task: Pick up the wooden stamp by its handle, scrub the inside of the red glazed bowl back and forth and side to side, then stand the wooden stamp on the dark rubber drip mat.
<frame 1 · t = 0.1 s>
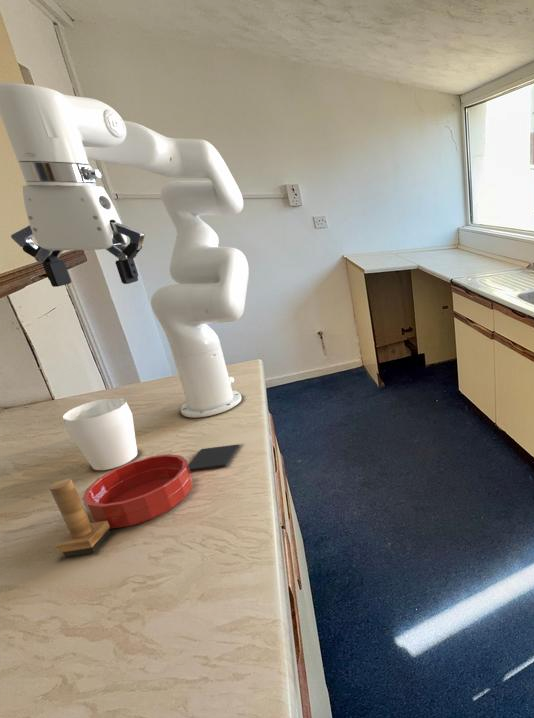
hand: (97, 283, 68), 37 cm above the counter, tool pointing down, fingers open, 9 cm apart
cup: (116, 461, 81), on the counter
drip mat: (213, 458, 81), on the counter
wooden stamp: (88, 545, 61), on the counter
bowl: (146, 501, 70), on the counter
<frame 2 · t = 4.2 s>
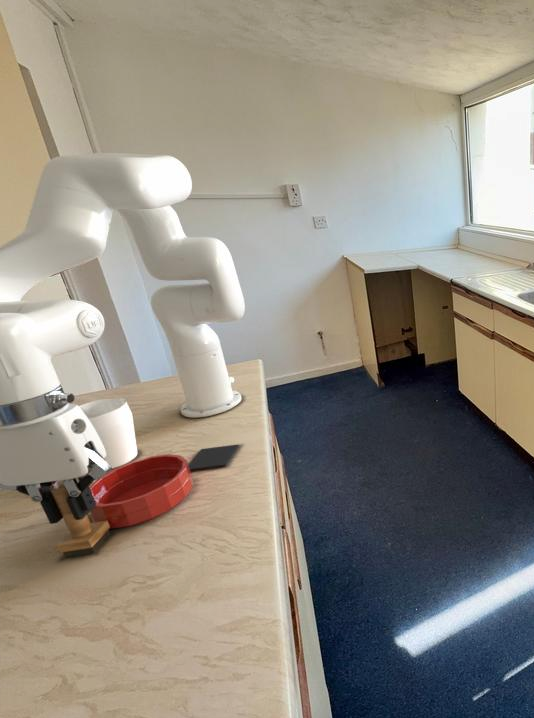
hand: (74, 513, 59), 6 cm above the counter, tool pointing down, fingers closed on wooden stamp, 2 cm apart
wooden stamp: (88, 545, 61), on the counter, touching gripper
everything else where it was.
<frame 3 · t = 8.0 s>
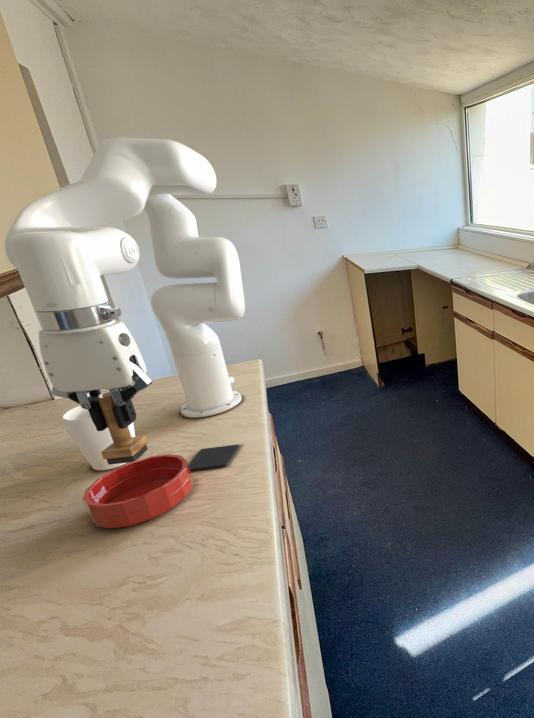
hand: (117, 424, 65), 16 cm above the counter, tool pointing down, fingers closed on wooden stamp
wooden stamp: (128, 456, 66), point 10 cm above the counter, touching gripper
everything else where it was.
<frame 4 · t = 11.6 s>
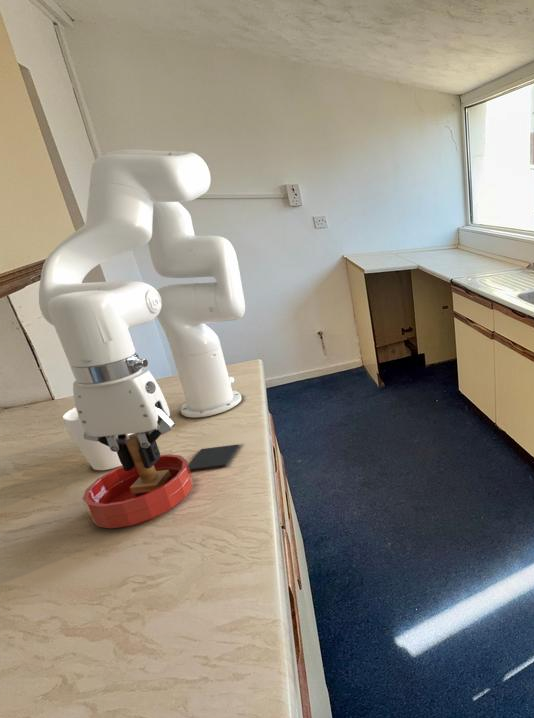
hand: (142, 464, 69), 7 cm above the counter, tool pointing down, fingers closed on wooden stamp, 2 cm apart
wooden stamp: (154, 489, 72), point 1 cm above the counter, touching bowl, gripper
everything else where it was.
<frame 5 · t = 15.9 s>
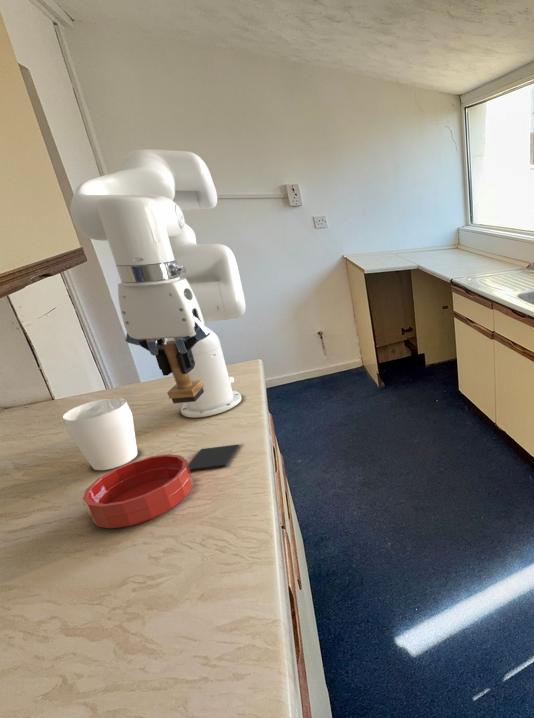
hand: (179, 371, 73), 20 cm above the counter, tool pointing down, fingers closed on wooden stamp
wooden stamp: (189, 397, 76), point 14 cm above the counter, touching gripper
everything else where it was.
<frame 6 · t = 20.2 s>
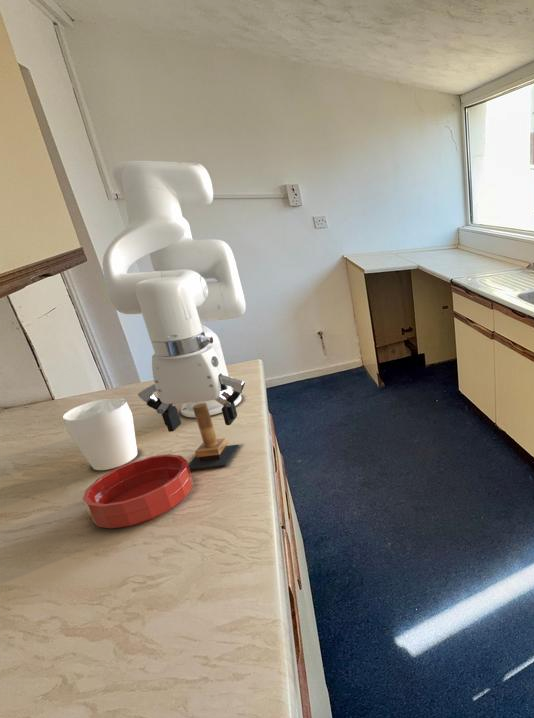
hand: (203, 424, 79), 8 cm above the counter, tool pointing down, fingers open, 9 cm apart
wooden stamp: (214, 455, 82), resting on drip mat
everything else where it was.
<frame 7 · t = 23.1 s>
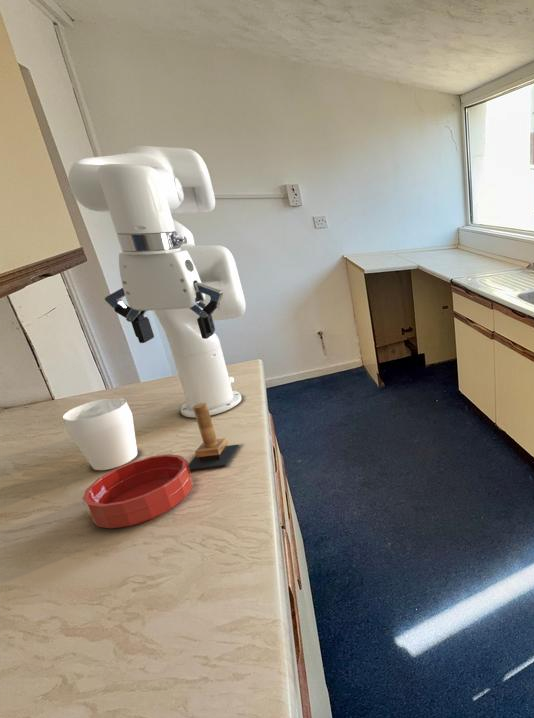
hand: (178, 338, 73), 26 cm above the counter, tool pointing down, fingers open, 9 cm apart
nothing on the counter moved.
at the end: wooden stamp 0.4 cm off-centre on the drip mat, point 0.5 cm above the drip mat's base; wooden stamp tilted 0°; the gripper is holding nothing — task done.
